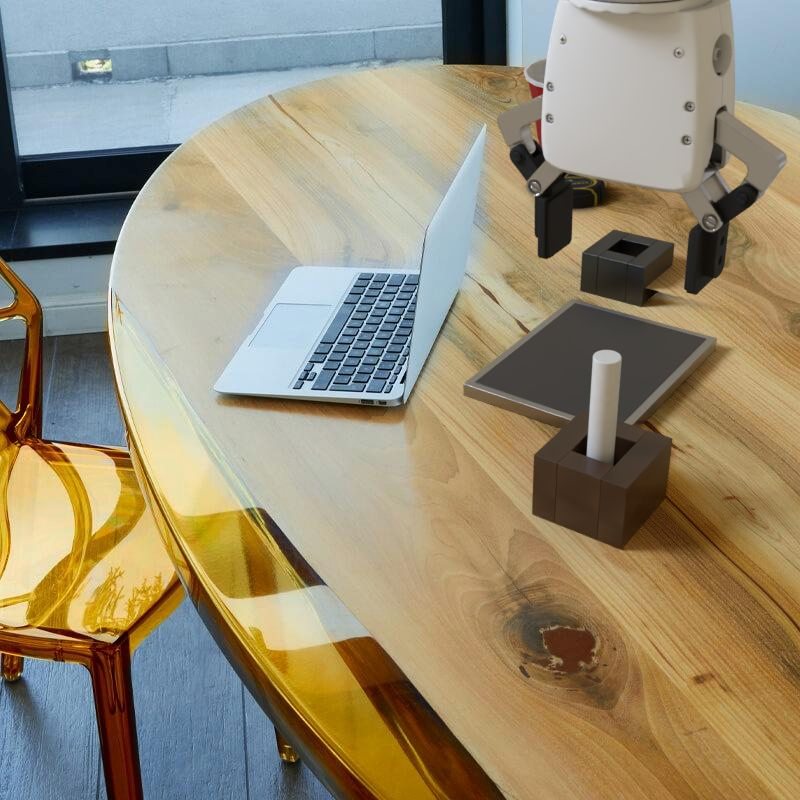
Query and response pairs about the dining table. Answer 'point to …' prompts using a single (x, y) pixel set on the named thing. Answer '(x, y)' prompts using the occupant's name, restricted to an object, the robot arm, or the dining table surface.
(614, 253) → the stylus holder
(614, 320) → the tablet
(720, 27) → the robot arm
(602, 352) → the stylus
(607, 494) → the pen stand
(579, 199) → the tape measure
